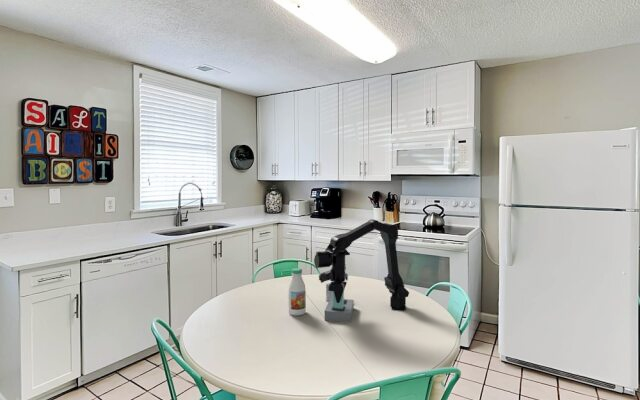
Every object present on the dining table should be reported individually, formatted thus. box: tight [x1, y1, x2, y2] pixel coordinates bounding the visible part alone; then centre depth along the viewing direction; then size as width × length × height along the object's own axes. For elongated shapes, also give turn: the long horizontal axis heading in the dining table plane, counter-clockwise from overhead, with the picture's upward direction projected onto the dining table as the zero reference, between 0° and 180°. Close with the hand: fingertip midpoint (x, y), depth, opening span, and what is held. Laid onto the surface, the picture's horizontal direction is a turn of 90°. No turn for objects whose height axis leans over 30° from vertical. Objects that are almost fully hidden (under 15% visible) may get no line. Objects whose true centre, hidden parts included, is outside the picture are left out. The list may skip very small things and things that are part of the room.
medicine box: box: [325, 281, 334, 302], centre depth 178 cm, size 8×4×9 cm, turn 143°
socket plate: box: [324, 298, 355, 323], centre depth 160 cm, size 11×16×4 cm
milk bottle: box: [287, 267, 307, 317], centre depth 161 cm, size 8×8×20 cm
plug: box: [333, 291, 345, 309], centre depth 155 cm, size 4×4×9 cm
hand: (338, 301), depth 156 cm, fingers closed on plug, 4 cm apart
